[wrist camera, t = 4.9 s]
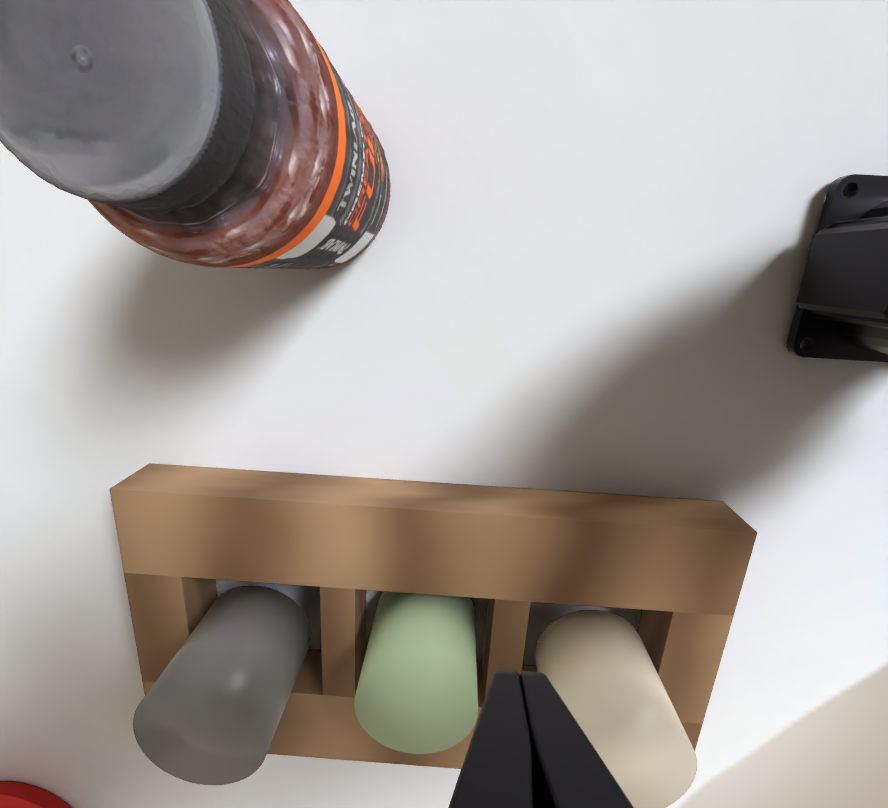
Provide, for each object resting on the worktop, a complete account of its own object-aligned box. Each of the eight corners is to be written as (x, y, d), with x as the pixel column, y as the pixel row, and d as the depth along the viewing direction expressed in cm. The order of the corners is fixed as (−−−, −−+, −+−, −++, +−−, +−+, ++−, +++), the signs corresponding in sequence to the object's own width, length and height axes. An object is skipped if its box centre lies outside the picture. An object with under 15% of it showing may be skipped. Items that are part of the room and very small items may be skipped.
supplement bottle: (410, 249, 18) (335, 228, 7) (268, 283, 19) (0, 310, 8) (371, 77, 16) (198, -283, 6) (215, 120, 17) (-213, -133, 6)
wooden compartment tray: (722, 501, 21) (757, 532, 18) (662, 735, 25) (684, 786, 22) (149, 463, 21) (109, 489, 19) (182, 699, 25) (153, 744, 23)
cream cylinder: (651, 613, 20) (710, 723, 15) (632, 698, 22) (681, 822, 17) (541, 606, 20) (565, 711, 15) (529, 690, 22) (548, 811, 17)
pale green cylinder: (478, 576, 22) (482, 663, 17) (470, 657, 23) (473, 758, 19) (377, 569, 22) (354, 653, 17) (376, 650, 23) (354, 749, 19)
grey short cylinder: (309, 589, 20) (263, 688, 16) (312, 675, 22) (271, 790, 17) (202, 581, 21) (124, 678, 16) (212, 667, 22) (142, 780, 17)
